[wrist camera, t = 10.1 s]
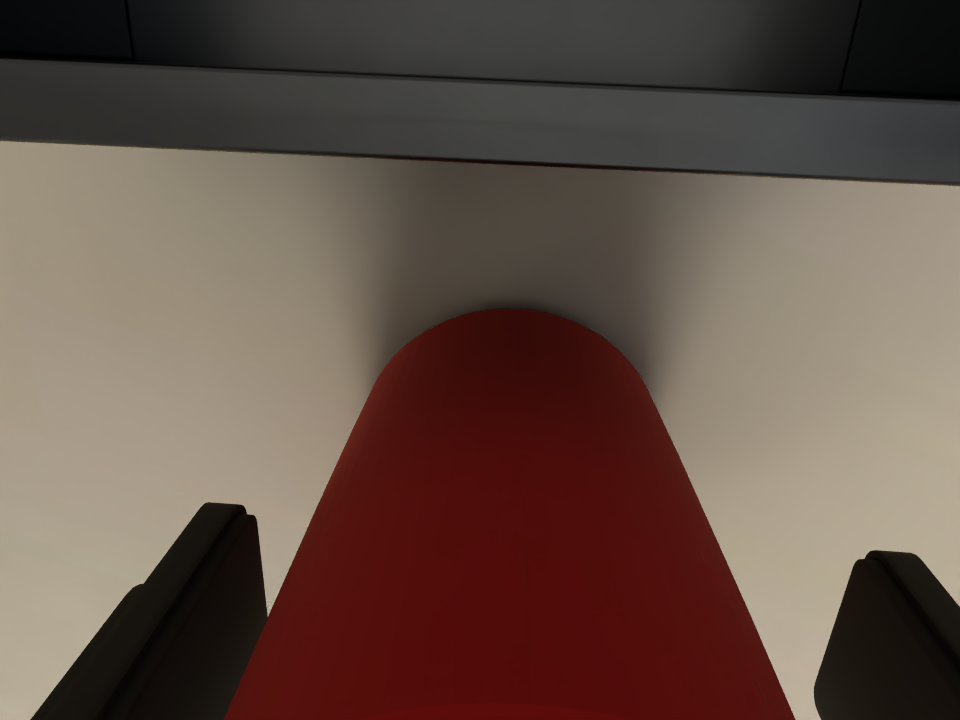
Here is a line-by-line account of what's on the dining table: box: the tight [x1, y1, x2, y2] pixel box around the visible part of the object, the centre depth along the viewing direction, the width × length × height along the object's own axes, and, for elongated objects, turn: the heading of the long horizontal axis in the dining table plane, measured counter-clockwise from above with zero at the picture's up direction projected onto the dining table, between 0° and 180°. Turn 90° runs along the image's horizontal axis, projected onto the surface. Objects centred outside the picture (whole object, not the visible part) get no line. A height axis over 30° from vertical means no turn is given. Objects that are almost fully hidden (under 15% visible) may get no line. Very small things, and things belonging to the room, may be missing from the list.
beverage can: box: [224, 309, 795, 720], centre depth 10 cm, size 7×7×12 cm
